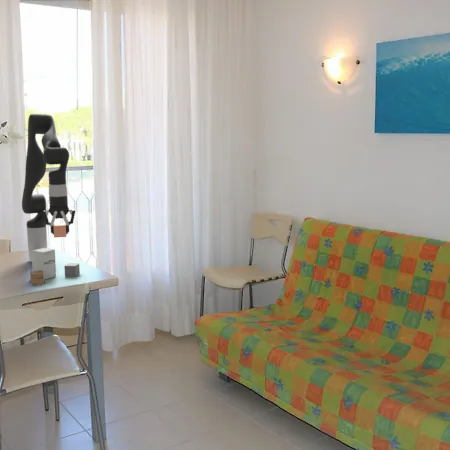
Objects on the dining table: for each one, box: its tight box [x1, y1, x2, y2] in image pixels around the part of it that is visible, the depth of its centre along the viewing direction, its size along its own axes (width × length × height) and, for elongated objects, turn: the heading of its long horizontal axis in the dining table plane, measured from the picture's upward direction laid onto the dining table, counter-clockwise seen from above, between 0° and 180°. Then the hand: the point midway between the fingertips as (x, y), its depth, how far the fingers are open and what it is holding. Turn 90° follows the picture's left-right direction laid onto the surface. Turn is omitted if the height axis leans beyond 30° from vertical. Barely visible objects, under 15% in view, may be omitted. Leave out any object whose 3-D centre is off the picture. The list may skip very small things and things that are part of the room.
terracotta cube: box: [53, 223, 68, 238], centre depth 261 cm, size 5×5×5 cm
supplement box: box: [31, 247, 57, 281], centre depth 270 cm, size 7×7×13 cm
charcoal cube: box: [64, 262, 81, 278], centre depth 274 cm, size 5×5×5 cm
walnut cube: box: [29, 270, 45, 286], centre depth 261 cm, size 5×5×5 cm
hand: (60, 233), depth 261 cm, fingers closed on terracotta cube, 5 cm apart
